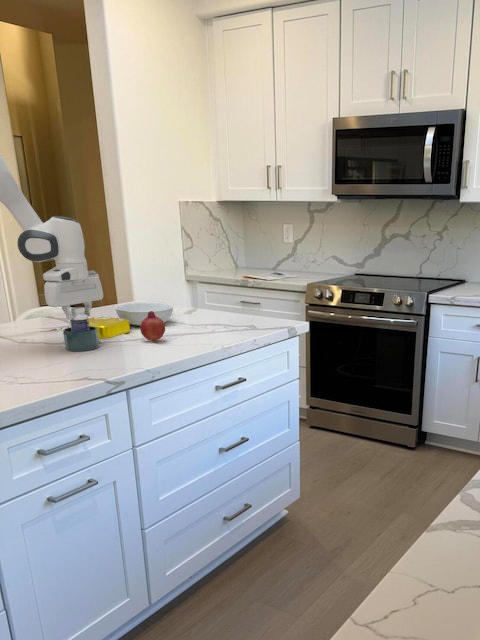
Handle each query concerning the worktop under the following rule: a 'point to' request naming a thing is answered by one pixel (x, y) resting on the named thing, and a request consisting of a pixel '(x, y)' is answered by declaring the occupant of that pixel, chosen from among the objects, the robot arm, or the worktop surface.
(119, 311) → the serving bowl
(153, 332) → the fruit
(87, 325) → the pill bottle
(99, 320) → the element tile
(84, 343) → the dark teal round container
